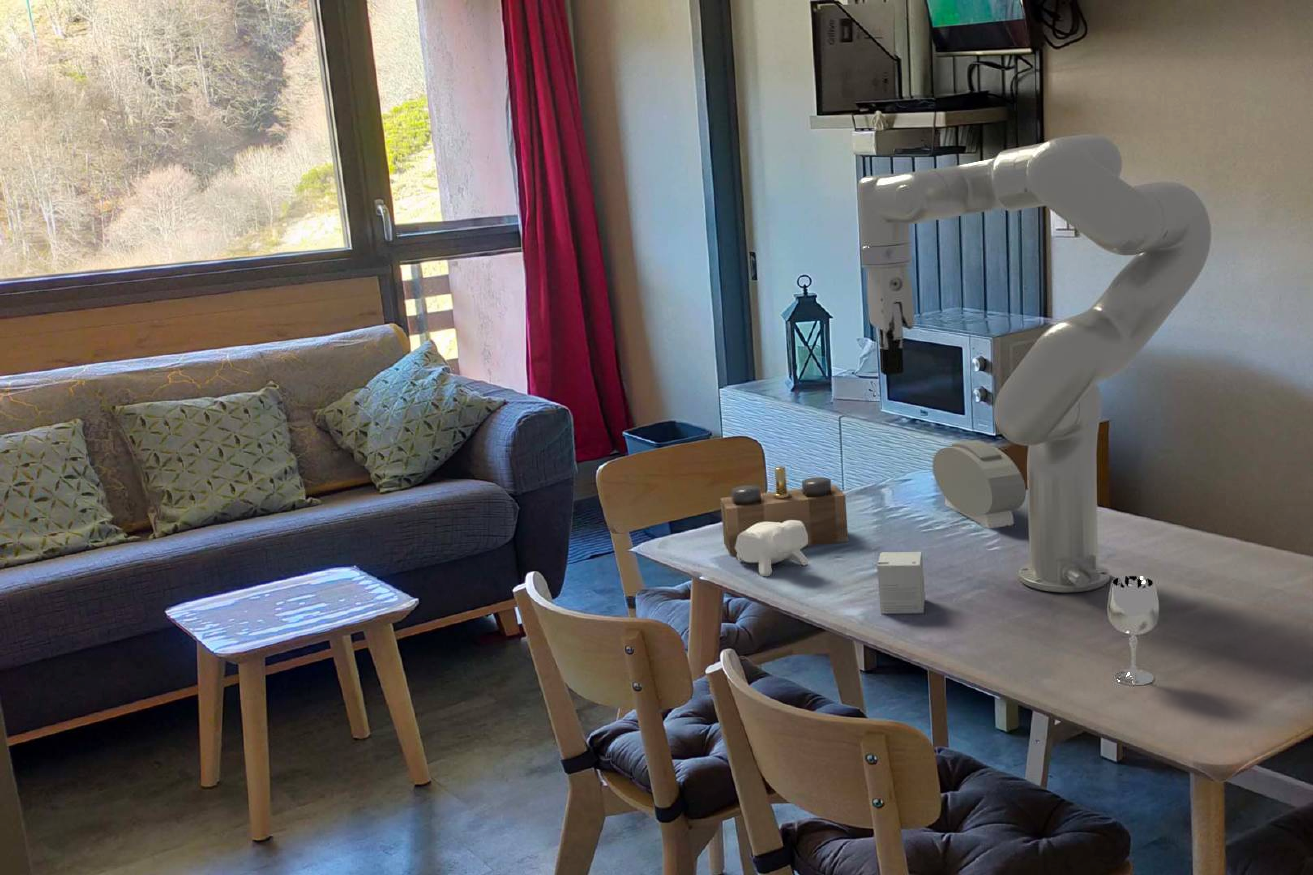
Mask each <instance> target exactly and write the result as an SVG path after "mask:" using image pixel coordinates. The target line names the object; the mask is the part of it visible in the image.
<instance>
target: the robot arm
mask: <svg viewBox="0 0 1313 875" xmlns="http://www.w3.org/2000/svg"><path fill="white" fill-rule="evenodd" d="M1122 169H1123V162H1122V155H1121V153H1120V151H1119V149H1118V147H1117V145H1116V144H1115V143H1114V142H1112V140H1110V139H1108V138H1107V137H1105V136H1102V135H1100V134H1099V135H1098V134H1093V133H1092V134H1081V135H1080V134H1079V135H1071V136H1069V135H1068V136H1061V137H1056V138H1053V139H1050V140H1048V141H1045V142H1041V143H1037V144H1032V145H1027V146H1020V147H1016V148H1010V149H1005V150H1002V151H1001V152H999V153H998V154H997V155H996V157H994V158H990V159H985V160H981V161H976V162H970V163H966V164H960V165H955V166H954V165H953V166H948V167H946V166H945V167H939V168H931V169H923V170H917V171H912V172H907V173H903V174H900V173H886V174H885V173H884V174H874V175H868V176H864V177H863V178H861V179H859V181H858V183H857V203H858V205H857V206H858V223H859V235H860V236H859V238H860V239H859V242H860V254H861V255H860V257H861V258H860V260H861V268H863V269H867V276H866V277H867V307H868V308H867V309H868V317H869V322H870V324H871V326H873V327H874V328H877V334H878V343H879V362H880V372H881V373H882V374H883V375H885V376H889V375H897V374H903V372H904V357H903V356H904V354H903V352H904V351H903V339H904V330H903V328H905V329H907V330H912V329H914V327H915V324H916V322H915V312H914V300H913V299H914V298H913V290H912V282H911V276H910V269H909V266H908V265H912V253H911V252H912V250H911V235H910V233H911V232H910V224H922V223H928V222H932V221H938V220H943V219H949V218H955V217H961V216H966V215H971V214H978V213H984V212H989V211H990V212H991V211H996V210H1003V209H1004V210H1006V211H1007V212H1014V211H1020V210H1021V211H1022V210H1027V209H1032V208H1033V209H1035V208H1039V207H1045V206H1046V207H1047V208H1048V209H1049V210H1051V211H1052V212H1053V213H1054V214H1056V216H1058V217H1060V218H1061V219H1062V220H1063V221H1065V222H1066V223H1068V224H1069V225H1070V226H1072V227H1073V228H1074V229H1075V230H1077V231H1078V232H1080V233H1081V234H1082V235H1084V237H1086V238H1087V239H1089V240H1091V242H1093V243H1094V244H1096V245H1097V246H1098V247H1100V248H1102V249H1104V250H1106V251H1108V252H1109V253H1112V254H1114V255H1119V256H1134V257H1133V258H1132V259H1131V260H1130V261H1129V262H1128V263H1127V264H1126V266H1125V267H1123V268H1122V269H1121V271H1119V273H1118V274H1116V276H1115V277H1114V279H1113V280H1112V281H1111V283H1110V284H1109V286H1108V287H1107V288H1106V289H1105V291H1103V293H1102V294H1101V296H1100V297H1099V298H1098V299H1097V301H1095V303H1093V305H1092V306H1090V307H1089V309H1087V310H1085V311H1083V312H1081V313H1079V314H1076V315H1073V316H1070V317H1067V318H1064V319H1062V320H1060V321H1058V322H1056V323H1054V324H1053V325H1051V326H1050V327H1049V328H1048V329H1046V331H1045V332H1043V333H1042V334H1041V336H1040V337H1039V338H1038V339H1037V340H1036V342H1035V343H1034V344H1032V346H1031V348H1030V349H1029V350H1028V352H1027V354H1025V356H1024V357H1023V359H1022V360H1021V361H1020V363H1019V364H1018V365H1017V367H1016V368H1015V369H1014V370H1013V371H1012V373H1011V374H1010V376H1009V377H1008V378H1007V380H1006V381H1005V382H1004V384H1003V386H1001V388H1000V389H999V392H998V394H997V396H996V398H995V402H994V409H993V410H994V411H993V413H994V414H993V415H994V417H993V418H994V421H995V425H996V427H997V429H998V430H999V433H1000V434H1001V435H1002V436H1003V437H1004V438H1005V439H1006V440H1008V441H1009V442H1011V443H1014V444H1016V445H1018V446H1019V445H1020V446H1026V447H1027V446H1028V448H1027V457H1026V458H1027V459H1026V473H1027V474H1026V484H1027V485H1026V486H1027V490H1026V491H1027V512H1028V514H1027V517H1028V518H1027V519H1028V520H1027V521H1028V543H1029V545H1028V547H1029V548H1028V549H1029V562H1028V563H1025V564H1024V565H1023V566H1021V567H1020V568H1019V572H1018V578H1019V580H1020V582H1021V583H1023V584H1024V585H1025V586H1027V587H1029V588H1032V589H1034V590H1039V591H1045V592H1052V593H1080V592H1081V593H1082V592H1086V591H1087V592H1088V591H1091V590H1095V589H1098V588H1101V587H1103V586H1105V585H1106V584H1107V583H1109V581H1110V578H1111V577H1110V571H1109V568H1107V567H1106V566H1105V565H1103V564H1101V563H1099V552H1098V551H1099V549H1098V548H1099V546H1098V545H1099V544H1098V543H1099V542H1098V541H1099V539H1098V538H1099V537H1098V536H1099V535H1098V498H1097V497H1098V491H1097V489H1098V488H1097V487H1098V484H1097V483H1098V482H1097V473H1098V472H1097V448H1098V434H1099V428H1100V421H1101V413H1102V395H1101V390H1100V386H1099V383H1101V382H1104V381H1106V380H1109V379H1111V378H1114V377H1116V376H1118V375H1120V374H1121V373H1123V372H1124V371H1125V370H1126V369H1127V368H1128V367H1129V366H1131V364H1133V362H1134V360H1135V359H1136V357H1137V356H1138V355H1139V353H1140V352H1141V351H1142V349H1144V347H1145V346H1146V345H1147V343H1148V342H1149V341H1150V340H1151V339H1152V337H1153V336H1154V335H1155V334H1156V332H1157V331H1158V330H1159V329H1160V328H1161V326H1162V325H1163V323H1164V322H1165V320H1167V318H1168V317H1169V316H1170V314H1171V313H1173V312H1172V311H1173V310H1174V309H1175V308H1176V307H1177V306H1178V304H1179V303H1180V302H1181V301H1182V300H1183V298H1185V296H1186V295H1187V293H1188V292H1189V291H1190V289H1191V288H1192V286H1193V285H1194V283H1195V282H1196V281H1197V279H1198V278H1199V276H1200V274H1201V272H1202V270H1203V269H1204V267H1205V264H1206V262H1207V259H1208V256H1209V254H1210V248H1211V242H1212V227H1211V222H1210V218H1209V214H1208V211H1207V208H1206V207H1205V204H1204V202H1203V201H1202V199H1201V198H1200V197H1199V195H1197V193H1196V192H1195V191H1193V190H1192V189H1191V188H1190V187H1188V186H1186V185H1184V184H1181V183H1177V182H1173V181H1158V182H1150V183H1145V184H1140V185H1134V186H1132V185H1130V184H1129V183H1128V182H1126V181H1124V180H1123V179H1121V178H1120V175H1121V172H1122Z"/></svg>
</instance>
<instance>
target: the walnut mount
mask: <svg viewBox="0 0 1313 875" xmlns="http://www.w3.org/2000/svg"><path fill="white" fill-rule="evenodd" d="M787 491H789V492H791V497H790V498H786V499H775V498H773V493H774V492H775V491H771V492H763V493H762V492H761V501H760V502H758V503H754V504H748V505H737V504H734V503H733V502H732V496H728V497H727V496H726V497H721V498H720V501H719V502H720V508H721V509H720V510H721V512H720V513H721V524H722V535H723V544H724V545H725V547H726V550H727V551H728V554H729V556H734V555H737V554H738V553H737V551H736V549H735V547H736V541H737V537H738V535H739V534H740V533H742V532H744V531H746V530H747V529H748V528H750V527H751V526H753V525H755V524H757V523H761V522H780V523H783V522H785V521H788V520H797V521H801V522H803V524H804V526H805V528H806V531H807V534H808V544H807V545H806V546H805V547H810V546H818V545H827V544H836V543H842V542H843V543H845V542H849V532H848V518H847V517H848V516H847V515H848V514H847V501H846V494H845V493H844V492H843V491H842V490H841V489H840V488H839V487H838V486H837V485H836V484H831V493H830V494H828V495H825V496H817V497H807V496H805V495H803V490H802V488H798V489H789V490H788V489H787Z"/></svg>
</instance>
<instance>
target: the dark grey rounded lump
mask: <svg viewBox="0 0 1313 875" xmlns="http://www.w3.org/2000/svg"><path fill="white" fill-rule="evenodd" d="M761 493H762V492H761V487H760V486H759V485H758V486H757V485H739V486H736V487H733V488H732V489H731V497H732V502H733V503H734V504H737V505H748V504H754V503H758V502H760V501H761Z"/></svg>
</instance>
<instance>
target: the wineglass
mask: <svg viewBox="0 0 1313 875" xmlns="http://www.w3.org/2000/svg"><path fill="white" fill-rule="evenodd" d="M1107 596H1108V597H1107V603H1106V605H1107V606H1106V610H1107V611H1106V612H1107V617H1108V620H1109V622H1110V624H1111V626H1113V628H1114V629H1115V630H1117V631H1118V632H1121V633H1123V634H1126V635H1130V637H1129V638H1128V645H1129V646H1130V647H1129V648H1130V651H1131V666H1130V668H1129V669H1127V668H1126V669H1122V670H1118V671H1116V672H1115V673H1114V674H1113V677H1114V680H1116V681H1117V682H1119V683H1122V684H1123V685H1124V684H1125V685H1128V686H1143V685H1147V684H1150V683H1153V681H1154V680H1155V679H1154V678H1155V677H1154V675H1153V674H1152V673H1150V672H1148V671H1146V670H1143V669H1138V667H1137V662H1136V659H1137V658H1136V657H1137V656H1136V654H1137V648H1138V646H1139V639H1138V637H1137V636H1138V635H1143V634H1145V633H1148V632H1150V631H1152V630H1153V629H1154V628H1155V626H1156V625H1157V624H1158V622H1159V615H1160V604H1159V598H1158V593H1157V588H1156V585H1155V582H1154V581H1153V580H1152V579H1151V578H1149V577H1144V576H1141V575H1140V576H1139V575H1123V576H1118V577H1115V578H1113V579H1112V580H1111V583H1110V587H1109V590H1108V595H1107Z"/></svg>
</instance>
